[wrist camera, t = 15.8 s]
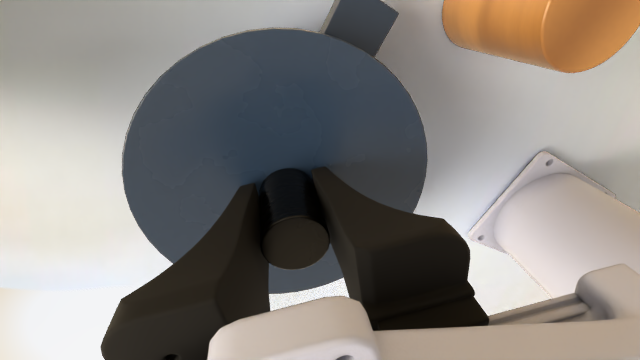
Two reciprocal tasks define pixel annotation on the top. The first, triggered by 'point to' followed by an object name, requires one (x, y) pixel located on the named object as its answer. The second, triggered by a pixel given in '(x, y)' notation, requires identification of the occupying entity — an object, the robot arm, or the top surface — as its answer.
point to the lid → (270, 145)
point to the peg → (543, 29)
